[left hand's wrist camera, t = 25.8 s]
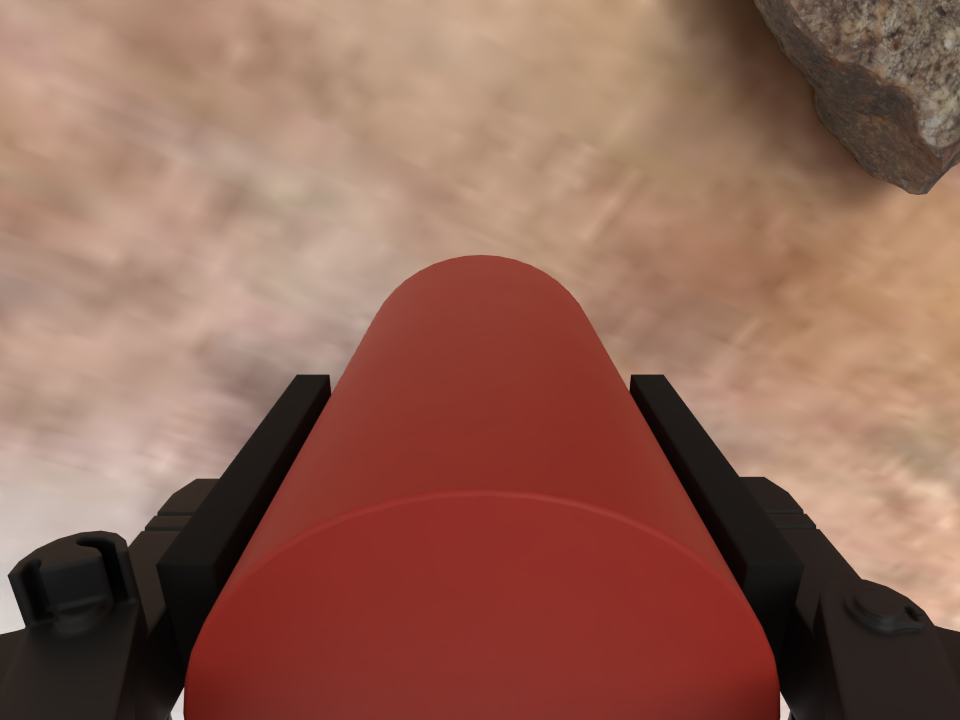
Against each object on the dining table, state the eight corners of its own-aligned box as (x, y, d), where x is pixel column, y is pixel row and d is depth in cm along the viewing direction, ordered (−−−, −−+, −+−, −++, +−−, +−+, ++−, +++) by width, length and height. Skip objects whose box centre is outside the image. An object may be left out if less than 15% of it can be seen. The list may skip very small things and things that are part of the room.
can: (373, 238, 17) (165, 449, 6) (621, 273, 17) (877, 535, 6) (356, 457, 19) (190, 898, 8) (572, 483, 19) (691, 939, 9)
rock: (837, 237, 30) (1031, 85, 27) (977, 293, 22) (1270, 87, 19) (667, -16, 25) (886, -231, 22) (770, -61, 17) (1127, -402, 14)
